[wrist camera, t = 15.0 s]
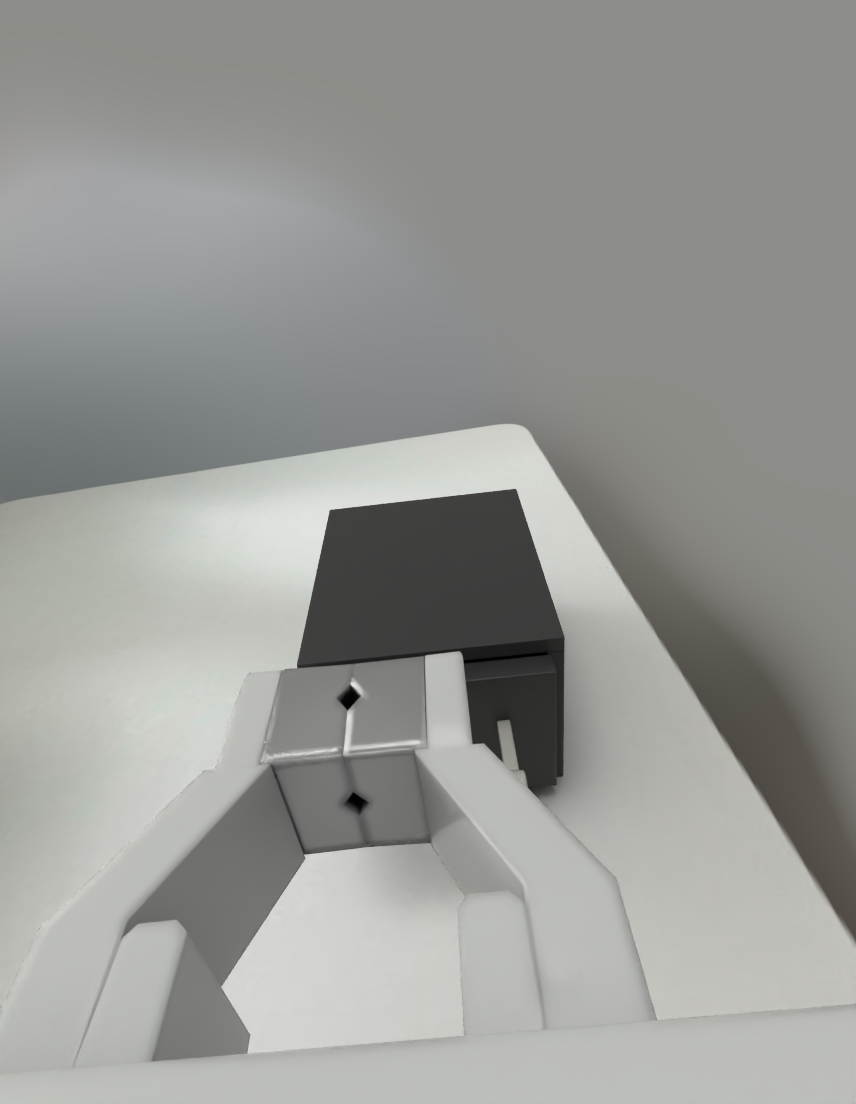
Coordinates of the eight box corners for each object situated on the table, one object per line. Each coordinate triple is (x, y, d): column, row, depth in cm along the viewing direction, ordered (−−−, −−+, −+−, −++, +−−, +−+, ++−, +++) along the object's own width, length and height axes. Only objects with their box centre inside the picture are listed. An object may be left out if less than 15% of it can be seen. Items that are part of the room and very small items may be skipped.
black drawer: (575, 865, 28) (579, 749, 24) (334, 887, 28) (296, 777, 24) (516, 617, 43) (512, 519, 39) (359, 634, 43) (338, 539, 39)
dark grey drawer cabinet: (563, 776, 33) (564, 637, 28) (336, 798, 33) (296, 665, 28) (520, 606, 45) (516, 488, 40) (355, 624, 46) (329, 509, 41)
